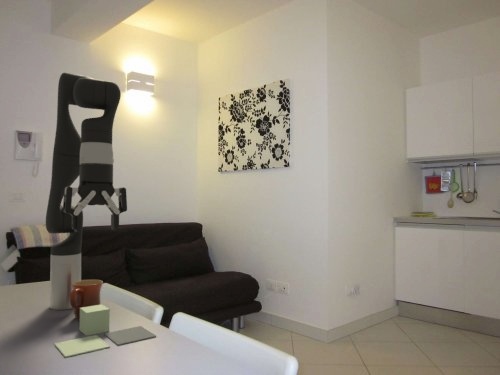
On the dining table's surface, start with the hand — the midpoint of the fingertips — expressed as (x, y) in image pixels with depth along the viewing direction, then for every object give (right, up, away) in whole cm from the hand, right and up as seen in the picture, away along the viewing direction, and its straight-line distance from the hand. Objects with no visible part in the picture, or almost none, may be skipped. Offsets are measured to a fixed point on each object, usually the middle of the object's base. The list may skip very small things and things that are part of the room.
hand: (95, 230), depth 97 cm
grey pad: (+6, -28, +9) cm, 30 cm away
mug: (-13, -29, +24) cm, 39 cm away
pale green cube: (-5, -28, +13) cm, 32 cm away
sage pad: (-4, -28, +1) cm, 28 cm away
